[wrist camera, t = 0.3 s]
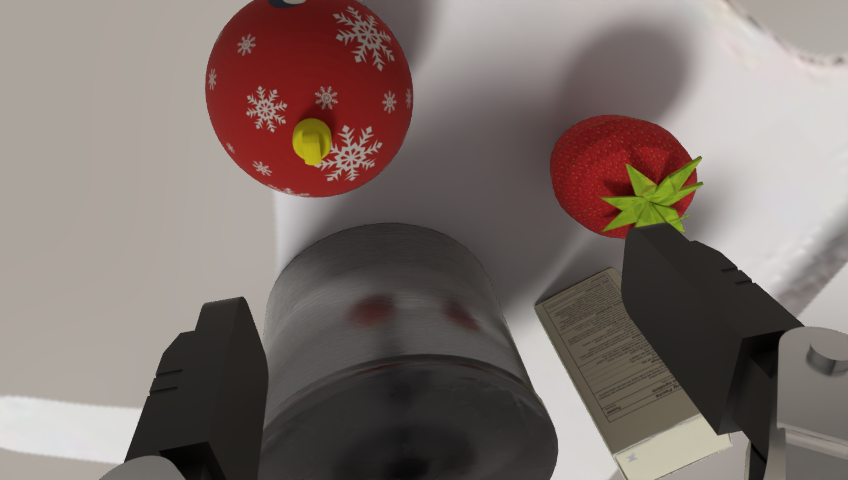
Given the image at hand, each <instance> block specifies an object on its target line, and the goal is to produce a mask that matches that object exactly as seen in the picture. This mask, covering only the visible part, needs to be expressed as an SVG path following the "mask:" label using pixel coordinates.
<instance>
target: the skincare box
mask: <svg viewBox="0 0 848 480" xmlns="http://www.w3.org/2000/svg"><path fill="white" fill-rule="evenodd" d="M621 281H622V277H621V276H620V275H619V274H618V272H617V271H616V270H615V269H614V268H609V269H607V270H605V271H602V272H600V273H598V274H596V275H594V276H592V277H590V278H588V279H586V280H584V281H582V282H580V283H578V284H577V285H575V286H573V287H571V288H569V289H567V290H565V291H563V292H561V293H559V294H557V295H555V296H553V297H551V298H550V299H548V300H546V301H544V302H542V303H540V304H538V305H536V306H535V307H534V310H535V312H536V314H537V316H538V318H539V320H540V322H541V324H542V326H543V328H544V330H545V332H546V334H547V335H548V337H549V339H550V341H551V343H552V345H553V347H554V349H555V351H556V353H557V355H558V357H559V359H560V360H561V362H562V364H563V366H564V368H565V370H566V371H567V373H568V375H569V377H570V379H571V381H572V383H573V385H574V387H575V388H576V390H577V392H578V394H579V396H580V398H581V400H582V402H583V403H584V405H585V407H586V409H587V411H588V413H589V415H590V416H591V418H592V420H593V422H594V424H595V426H596V428H597V430H598V431H599V433H600V435H601V437H602V439H603V441H604V443H605V444H606V446H607V448H608V450H609V452H610V454H611V455H612V457H613V459H614V461H615V463H616V465H617V466H618V468H619V470H620V472H621V474H622V476H623V477H624V479H625V480H660V479H662V478H664V477H666V476H668V475H671V474H673V473H675V472H677V471H680V470H682V469H684V468H686V467H688V466H691V465H693V464H694V463H697V462H699V461H701V460H703V459H706V458H708V457H710V456H712V455H714V454H716V453H718V452H720V451H723V450H725V449H727V448H729V447H731V446H733V442H732V437H731V433H728V434H723V435H719V436H717V434H716V433H715V432H714V430H713V429H712V428H711V426H710V425H709V424H708V422H707V421H706V419H705V418H704V417H703V415H702V414H701V413H700V411H699V410H698V409H697V407H696V406H695V405H694V403H693V402H692V401H691V399H690V398H689V397H688V395H687V394H686V392H685V391H684V390H683V388H682V387H681V386H680V384H679V383H678V382H677V380H676V379H675V378H674V376H673V375H672V374H671V372H670V371H669V370H668V368H667V367H666V366H665V364H664V363H663V361H662V360H661V359H660V357H659V356H658V355H657V353H656V352H655V351H654V349H653V348H652V347H651V345H650V344H649V343H648V341H647V340H646V339H645V337H644V336H643V334H642V333H641V332H640V330H639V329H638V328H637V326H636V325H635V324H634V322H633V321H632V320H631V318H630V317H629V315H628V314H627V312H626V310H625V307H624V304H623V301H622V296H621Z"/></svg>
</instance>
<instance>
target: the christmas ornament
mask: <svg viewBox="0 0 848 480" xmlns="http://www.w3.org/2000/svg"><path fill="white" fill-rule="evenodd" d="M205 93H206V103H207V109H208V113H209V116H210V120H211V123H212V126H213V128H214V130H215V133H216V135H217V137H218V139H219V141H220V142H221V144H222V145H223V147H224V149H225V150H226V152H227V153H228V154H229V156H230V157H231V158H232V159H233V160H234V161H235V163H237V165H238V166H239V167H240V168H242V169H243V170H244V171H245V172H246V173H247V174H249V175H250V176H251V177H253V178H254V179H256V180H257V181H259V182H260V183H262V184H264V185H266V186H268V187H270V188H272V189H274V190H277V191H279V192H283V193H286V194H290V195H294V196H300V197H313V198H315V197H328V196H334V195H339V194H343V193H346V192H349V191H351V190H354V189H356V188H358V187H360V186H362V185H364V184H365V183H367V182H368V181H370V180H372V179H373V178H374V177H376V176H377V175H378V174H379V173H380V172H381V171H382V170H384V169H385V168H386V166H387V165H388V164H389V163H390V162H391V161H392V159H393V158H394V156H395V155H396V154H397V152H398V151H399V149H400V147H401V145H402V143H403V141H404V139H405V137H406V134H407V131H408V128H409V125H410V121H411V117H412V109H413V85H412V79H411V74H410V70H409V66H408V63H407V60H406V58H405V55H404V52H403V50H402V48H401V46H400V44H399V43H398V41H397V40H396V38H395V36H394V35H393V33H392V32H391V31H390V30H389V28H388V27H387V26H386V25H385V23H384V22H383V21H382V20H381V19H380V18H379V17H378V16H377V15H375V14H374V13H373V12H372V11H371V10H369V9H368V8H367V7H365V6H364V5H362V4H361V3H359V2H357V1H356V0H254V1H252V2H250V3H249V4H247V5H246V6H245V7H243V8H242V9H241V10H240V11H239V12H238V13H236V15H234V16H233V17H232V19H231V20H230V21H229V22H228V23H227V25H226V26H225V27H224V28H223V30H222V31H221V33H220V35H219V36H218V38H217V40H216V42H215V44H214V47H213V49H212V52H211V54H210V58H209V61H208V65H207V71H206V83H205Z"/></svg>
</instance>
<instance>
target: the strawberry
mask: <svg viewBox="0 0 848 480" xmlns="http://www.w3.org/2000/svg"><path fill="white" fill-rule="evenodd" d="M701 159H702V157H701V156H699V157H697V158H696V159H694V160H692V158H691V157H690V156H689V154H688V153H687V151H686V150H685V149H684V147H683V146H682V145H681V144H680V143H679V141H678V140H677V139H676V138H675V137H674V136H673V135H672V134H671V133H670V132H669V131H667V130H665V129H664V128H662V127H660V126H658V125H656V124H653V123H650V122H647V121H644V120H639V119H635V118H630V117H625V116H619V115H602V116H596V117H591V118H589V119H586V120H584V121H581V122H579V123H577V124H576V125H574V126H572V127H571V128H570V129H569V130H567V131H566V132H565V133H564V134H563V135H562V136H561V138H560V139H559V140H558V141H557V143H556V145H555V147H554V149H553V151H552V154H551V159H550V172H551V179H552V185H553V189H554V193H555V196H556V199H557V200H558V202H559V204H560V205H561V207H562V208H563V209H564V210H565V211H566V212H567V213H568V214H569V215H570V216H571V217H572V218H574V219H575V220H576V221H577V222H579V223H580V224H581V225H583V226H584V227H586V228H587V229H589V230H590V231H593V232H595V233H597V234H599V235H603V236H607V237H611V238H623V239H624V238H626V234H627V232H628V230H629V229H630V228H634V227H640V226H646V225H651V224H657V223H662V222H668V223H670V224H671V225H672V226H673V227H674V228H676V229H677V230H678V231H681V232H684V233H685V231H684V229H683V226H682V224H681V221H680V219H684V218H687V217H689V215H686V216H683V217H681V216H682V215H683V214H684V212H685V211H686V209H687V208H688V206H689V205H690V203H691V201H692V199H693V197H694V194H695V191H696V189H697V188H698V187H700V186H702V185H703V182H699V183H697V173H696V168H695V167H696V166H697V165H698V163H699V162H700V160H701Z"/></svg>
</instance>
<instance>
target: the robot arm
mask: <svg viewBox="0 0 848 480" xmlns="http://www.w3.org/2000/svg"><path fill="white" fill-rule="evenodd" d="M621 296H622V301H623V304H624V307H625V310H626V312H627V314H628V315H629V317H630V318H631V320H632V321H633V322H634V324H635V325H636V326H637V328H638V329H639V330H640V332H641V333H642V334H643V336H644V337H645V339H646V340H647V341H648V343H649V344H650V345H651V347H652V348H653V349H654V351H655V352H656V353H657V355H658V356H659V357H660V359H661V360H662V361H663V363H664V364H665V366H666V367H667V368H668V370H669V371H670V372H671V374H672V375H673V376H674V378H675V379H676V380H677V382H678V383H679V384H680V386H681V387H682V388H683V390H684V391H685V392H686V394H687V395H688V397H689V398H690V399H691V401H692V402H693V403H694V405H695V406H696V407H697V409H698V410H699V411H700V413H701V414H702V415H703V417H704V418H705V419H706V421H707V422H708V424H709V425H710V426H711V428H712V429H713V430H714V432H715V433H716V434H717V436H719V435H723V434H728V433H733V432H737V431H743V432H744V434H745V435H746V436H747V437H748V439H749V443H748V446H747V450H746V459H745V473H744V480H848V335H847V334H845V333H842V332H839V331H836V330H832V329H827V328H822V327H805V326H804V325H803V324H802V323H801V322H800V321H799V320H797V319H796V318H795V317H794V316H793V315H792V314H791V313H789V312H788V311H787V310H786V309H785V308H784V307H783V306H781V305H780V304H779V303H778V302H777V301H776V300H775V299H773V298H772V297H771V296H770V295H769V294H768V293H767V292H765V291H764V290H763V289H762V288H761V287H760V286H759V285H757V284H756V283H752V279H751V278H749V277H748V276H747V275H746V274H745V273H744V272H743V271H741V270H738V269H737V266H736V265H735V264H733V263H732V262H731V261H730V260H729V259H728V258H727V257H725V256H724V255H723V254H722V253H721V252H719V251H717V250H715V249H713V248H711V247H709V246H707V245H704V244H702V243H700V242H698V241H689V240H687V239H686V238H685V237H684V236H683V235H682V234H681V233H680V232H679V231H678V230H677V229H676V228H674V227H673V226H672V225H671V224H670V223H668V222H662V223H657V224H651V225H646V226H640V227H634V228H630V229H629V230H628V232H627V234H626V239H625V249H624V260H623V270H622V281H621ZM268 383H269V373H268V364H267V359H266V355H265V351H264V348H263V346H262V343H261V340H260V337H259V334H258V331H257V329H256V326H255V323H254V320H253V317H252V314H251V312H250V309H249V306H248V303H247V301H246V300H245V298H244V297H237V298H232V299H226V300H220V301H215V302H209V303H205V304H204V305H203V306H202V309H201V312H200V316H199V319H198V322H197V325H196V328H195V331H190V332H184V333H180V334H179V335H178V337H177V338H176V339H175V340H174V341H173V342H172V344H171V345H170V346H169V347H168V348H167V349H166V351H165V352H164V353H163V355H162V358H161V361H160V363H159V366H158V369H157V372H156V378H154V380H153V383H152V386H151V388H150V391H149V392H150V396H148V397H147V400H146V402H145V405H144V408H143V411H142V413H141V416H140V419H139V422H138V425H137V427H136V430H135V433H134V436H133V438H132V441H131V444H130V447H129V450H128V452H127V455H126V458H125V461H124V463H123V464H121V465H119V466H117V467H116V468H114V469H112V470H111V471H109V472H108V473H107V474H105V475H104V476H103V477H102V478H101V479H99V480H257V478H258V470H259V461H260V452H261V444H262V435H263V427H264V418H265V409H266V401H267V392H268Z"/></svg>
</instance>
